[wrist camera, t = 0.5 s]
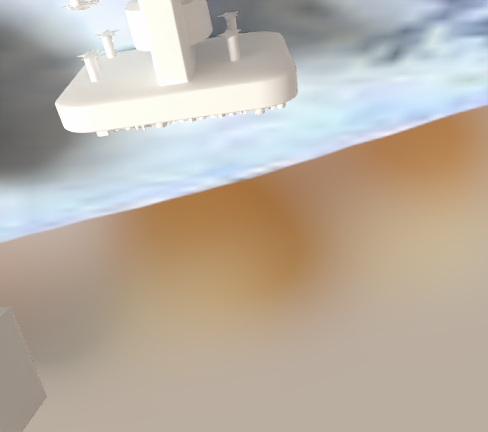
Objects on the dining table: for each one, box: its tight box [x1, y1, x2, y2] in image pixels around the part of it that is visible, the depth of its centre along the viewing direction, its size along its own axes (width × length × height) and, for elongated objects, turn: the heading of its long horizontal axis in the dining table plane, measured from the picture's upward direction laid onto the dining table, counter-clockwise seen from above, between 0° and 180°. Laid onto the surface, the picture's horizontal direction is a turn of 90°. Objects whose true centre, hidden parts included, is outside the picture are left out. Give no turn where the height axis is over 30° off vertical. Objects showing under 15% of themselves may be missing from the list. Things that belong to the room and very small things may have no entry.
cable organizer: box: [55, 0, 298, 137], centre depth 28 cm, size 15×11×12 cm
